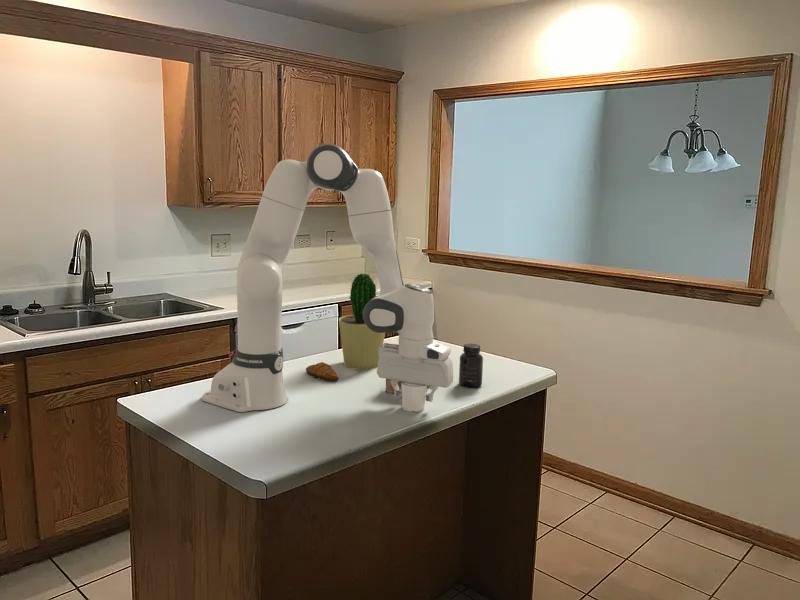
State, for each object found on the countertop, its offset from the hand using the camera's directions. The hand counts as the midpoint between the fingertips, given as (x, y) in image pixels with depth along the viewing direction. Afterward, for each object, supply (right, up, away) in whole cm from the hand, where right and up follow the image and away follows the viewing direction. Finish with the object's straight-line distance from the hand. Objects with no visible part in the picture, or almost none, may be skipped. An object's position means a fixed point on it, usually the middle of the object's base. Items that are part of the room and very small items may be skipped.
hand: (413, 398), depth 171 cm
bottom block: (-1, 0, +16) cm, 16 cm away
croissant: (-27, +2, +24) cm, 36 cm away
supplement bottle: (+17, +1, +21) cm, 27 cm away
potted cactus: (-16, +5, +38) cm, 42 cm away
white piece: (0, -3, +1) cm, 3 cm away
